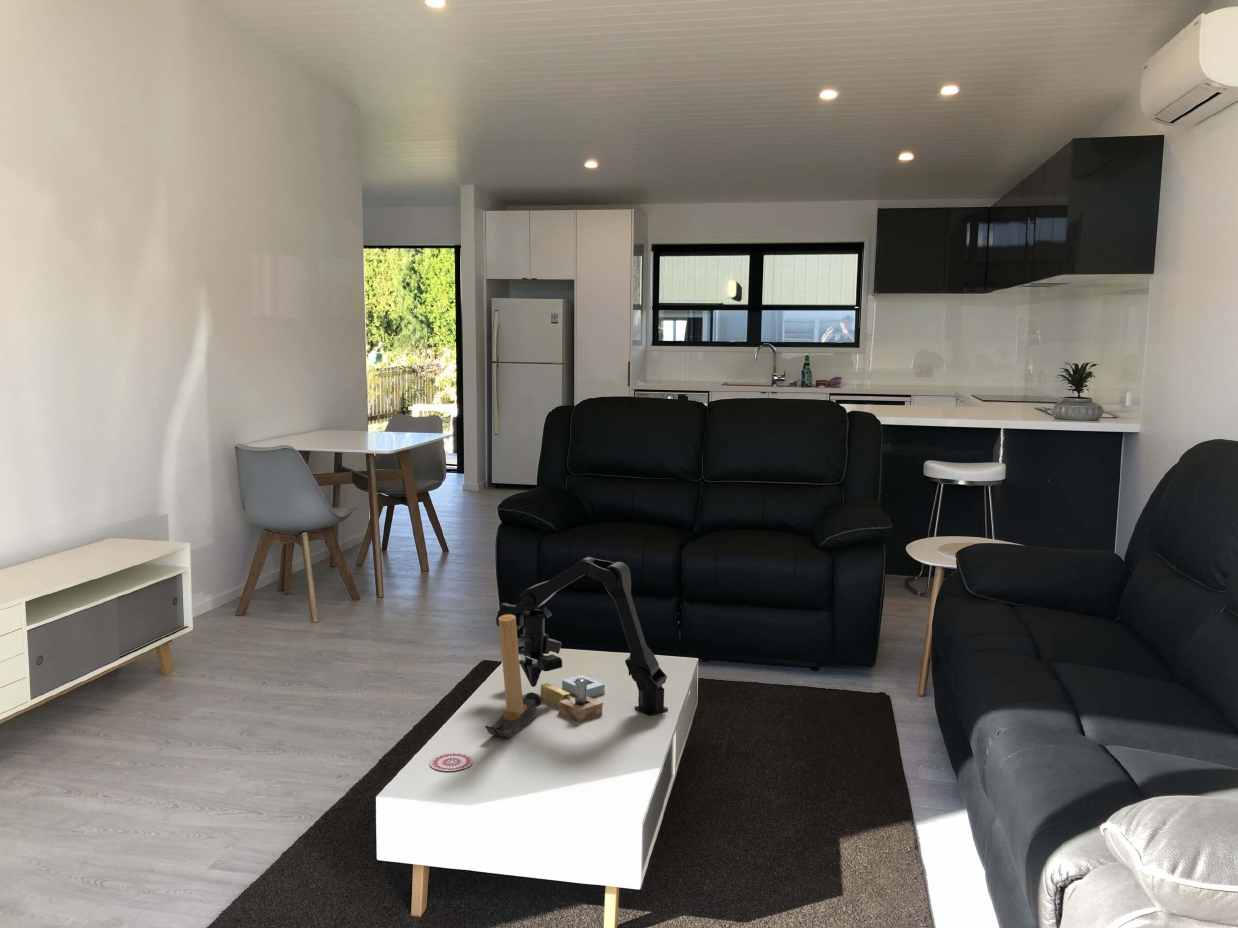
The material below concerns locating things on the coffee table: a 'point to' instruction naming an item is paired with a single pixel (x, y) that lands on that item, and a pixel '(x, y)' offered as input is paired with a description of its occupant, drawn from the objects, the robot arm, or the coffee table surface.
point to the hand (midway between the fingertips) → (533, 686)
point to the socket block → (580, 709)
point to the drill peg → (581, 691)
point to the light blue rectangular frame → (592, 686)
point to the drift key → (553, 693)
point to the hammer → (513, 685)
